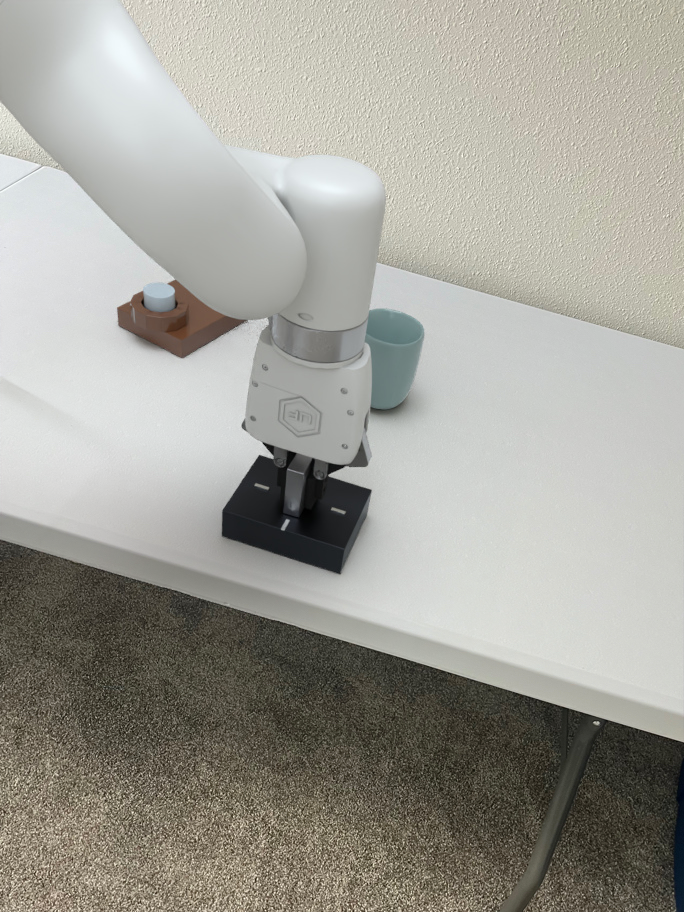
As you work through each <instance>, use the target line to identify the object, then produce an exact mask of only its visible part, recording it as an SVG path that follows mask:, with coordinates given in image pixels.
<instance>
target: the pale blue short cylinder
mask: <svg viewBox="0 0 684 912" xmlns="http://www.w3.org/2000/svg"><path fill="white" fill-rule="evenodd" d="M142 291H143V297H144V306H145V308H147V309H149V310H151V311H155V312H167V311H171V310H173V309H175V289H174V288H173V287H172V286H170V285H168V284H167V283H165V282H159V281H158V282H157V281H156V282H149V283H147V284H145V285H144V286H143V287H142Z"/></svg>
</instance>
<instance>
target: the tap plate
mask: <svg viewBox="0 0 684 912" xmlns="http://www.w3.org/2000/svg"><path fill="white" fill-rule="evenodd" d="M273 460H274V458H271V457H268V456H265V455H261V454H259V455H258V456H257V457H256V459H255V460H254V461H253V463H252V465H251V466H250V467H249V469H248V471H247V473H246V474H245V475H244V477H243V478H242V480H241V481H240V483H239V484H238V486H237V487H236V489H235V490H234V491H233V494H232V495H231V497H230V498H229V499H228V501H227V502H226V504H225V506H224V507H223V508H222V510H221V537H222V538H225V539H229V540H232V541H235V542H237V543H240V544H244V545H248V546H250V547H253V548H257V549H260V550H263V551H265V552H269V553H271V554H275V555H278V556H282V557H285V558H288V559H291V560H294V561H297V562H301V563H304V564H306V565H309V566H313V567H316V568H319V569H322V570H325V571H329V572H330V573H334V574H338V575H341V573H342V571H343V569H344V567H345V564H346V563H347V561H348V558H349V555H350V553H351V552H352V549H353V546H354V544H355V543H356V540H357V538H358V537H359V534H360V531H361V529H362V527H363V525H364V522H365V520H366V518H367V516H368V512H369V508H370V502H371V496H372V493H373V491H372V490H373V489H370V488H366V487H364V486H361V485H358V484H355V483H351V482H348V481H345V480H341V479H339V478H335V477H332V476H329V475H328V482H327V489H326V492H325V495H324V497H323V499H322V500H321V499H316V501H315V503H314V505H313V507H312V509H311V510H310V509H306V508H305V507H304V509H303V511H302V513H301V515H300V516H299V518H298V517H295V516H292V515H288V514H285V513H283V508H284V501H281V500H280V493H281V487H279V486H277V474H278V466H276V465H275V464H274V461H273Z"/></svg>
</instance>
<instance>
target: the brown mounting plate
mask: <svg viewBox="0 0 684 912" xmlns="http://www.w3.org/2000/svg"><path fill="white" fill-rule="evenodd" d="M166 284H168V285H170V286H172V287H173V288H174V289H175V309H173V310H171V311H167V312H155V311H151V310H149V309H147V308H145V306H144V297H143V290H141V291H138V292H136V293H135V294H133V295H132V297H131V299H130V301H128V302H125V303H123V304H121V305H119V306H117V307H116V312H117V324H118V326H119V327H120V328H123V329H124V330H126V331H128V332H130V333H133V334H134V335H136V336H138V337H140V338H142V339H144V340H145V341H148V342H150V343H151V344H153V345H156V346H157V347H159V348H161V349H164V351H167V352H169V353H171V354H173V355H175V356H177V357H179V358H180V359H183V358H185V357H187V356H188V355H190V354H192V353H193V352H195V351H197V350H198V349H200V348H202V347H204V346H205V345H207V344H209V343H211V342H212V341H214V340H216V339H217V338H219V337H221V336H223V335H224V334H226V333H228V332H230V331H232V330H233V329H235V328H236V327H238V326H240V325H241V324H243V323H245V322H247V320H242V319H236V318H232V317H229V316H225V315H223V314H221V313H219V312H217V311H215V310H213V309H212V308H210V307H208V306H207V305H205V304H204V303H203V302H201V301H200V300H199V299H198V298H197V297H196V296H194V295H193V294H192V293H191V292H190V291H188V290H187V289H186V288H185V287H184V286H183V285H181V284H180V283H179V282H178V281H177V280H176V279H175V278H174V279H173V280H171V281H169V282H167V283H166Z"/></svg>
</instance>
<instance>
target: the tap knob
mask: <svg viewBox="0 0 684 912" xmlns="http://www.w3.org/2000/svg"><path fill="white" fill-rule="evenodd" d="M314 464H315V458H312V457H308V456H305V455H302V454H299V453H297V454H296V455H295V457H294V459H293V460H292V462H291V464H290V465H289V467H288V468H287V476H286V487H285V497H284V508H283V513H285V514H288V515H292V516H295V517H298V518H299V516H300V515H301V513H302V511H303V509H304V507H305V506H304V500H305V491H306V482H307V477H308V475H309V473H310V472H311V470H312V468H313V466H314Z"/></svg>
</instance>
